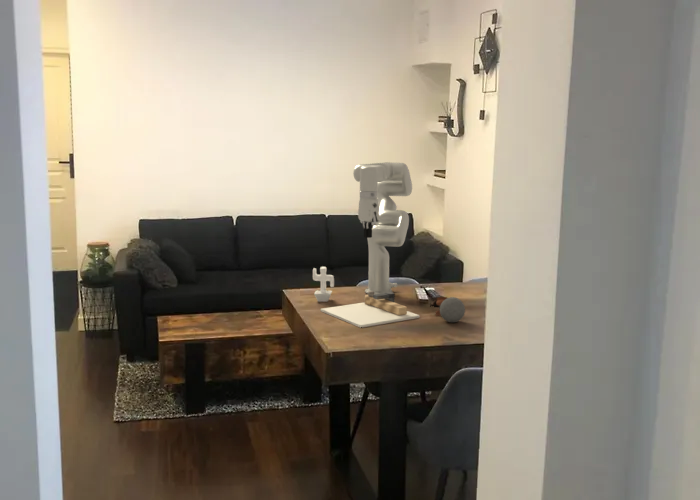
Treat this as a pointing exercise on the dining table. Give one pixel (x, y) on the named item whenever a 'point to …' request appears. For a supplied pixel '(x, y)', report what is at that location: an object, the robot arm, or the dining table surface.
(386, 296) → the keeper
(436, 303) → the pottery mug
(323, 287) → the figurine
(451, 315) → the decorative ball
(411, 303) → the dining table surface
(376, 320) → the pivot board
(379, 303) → the oak link
